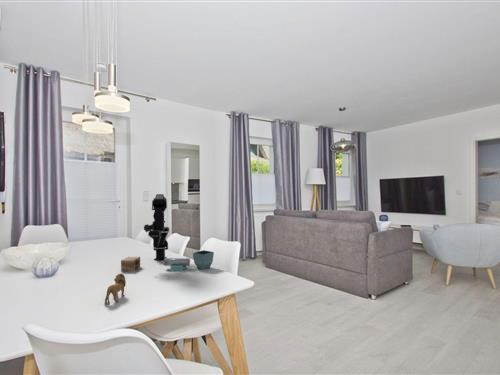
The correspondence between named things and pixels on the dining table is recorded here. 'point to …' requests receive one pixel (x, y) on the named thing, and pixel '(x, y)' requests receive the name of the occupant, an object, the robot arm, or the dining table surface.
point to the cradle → (177, 267)
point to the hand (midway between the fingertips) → (159, 245)
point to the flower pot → (203, 259)
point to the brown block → (130, 263)
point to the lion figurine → (116, 288)
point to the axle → (176, 261)
